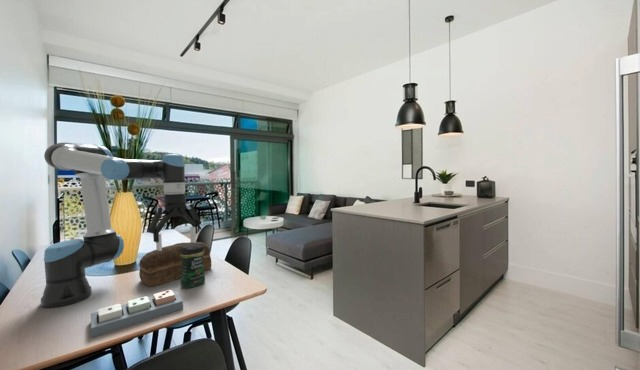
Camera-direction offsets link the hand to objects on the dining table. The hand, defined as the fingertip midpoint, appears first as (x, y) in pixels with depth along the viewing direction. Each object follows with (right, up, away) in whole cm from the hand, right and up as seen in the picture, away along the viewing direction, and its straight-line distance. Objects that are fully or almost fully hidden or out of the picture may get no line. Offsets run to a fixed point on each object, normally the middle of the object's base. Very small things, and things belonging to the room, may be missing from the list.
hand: (177, 246), depth 107 cm
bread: (-14, -21, +27) cm, 37 cm away
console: (-7, -22, -12) cm, 26 cm away
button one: (-13, -20, -17) cm, 29 cm away
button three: (-1, -19, -7) cm, 20 cm away
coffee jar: (0, -21, +14) cm, 25 cm away
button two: (-7, -20, -12) cm, 24 cm away
